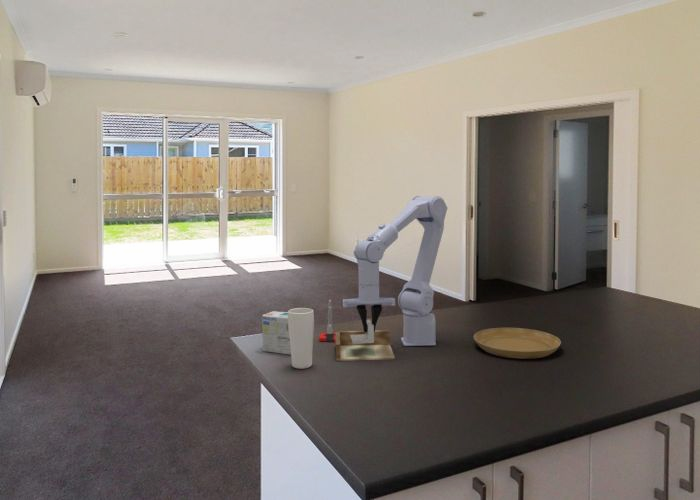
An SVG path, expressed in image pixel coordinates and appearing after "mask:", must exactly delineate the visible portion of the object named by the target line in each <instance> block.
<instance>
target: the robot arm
mask: <svg viewBox="0 0 700 500" xmlns="http://www.w3.org/2000/svg"><path fill="white" fill-rule="evenodd" d="M447 212H448V206H447V204H446V202H445V199H444V198H443V197H442V196H439V195H437V196H436V195H435V196H420V195H416V196H414V197H412V198H411V200H409V201H408V202H407V205H406V207H404V208H403V209H402V210H401V212H399V213H398V215H397V216H395V218H394V219H393V220H392V221H391V222H390V223H382V224H380V225H378V228H377V229H376V230H375V231H374V232H373V233H372V234H369V235H368V236H367V238H366V240H361V241H359V242H358V243H357V244H356V246H355V248H354V249H355V250H353V256H354V257H355V259H356V261H357V263H356V264H357V265H358V266H357V267H358V297H356V298H347V299H346V298H345V299H344V298H343V299H342V307H343V308H350V307H351V308H353V307H355V308H356V310H357V313H358V314H359V317H360V320H361V323H362V326H363V327H362V329H363V330H362V331H364V332H367V321H366V320H368V318H367V316H368V314H367V313H368V310H367V307H370V309H371V310H370V311H371V312H370V313H371V322H372V323H373V325H374V332H375V330H376V326H377V323H378V320H379V317H380V315H381V313H382V312H383V307H382V306H391V307H395V306H396V299H395V298H394V297H380V261H381V260H382V259H383V257H384V254H385V252H386V251H387V249H388V248H389V247H390V246H391V245H393V243H395V241H397V240H398V238H399V233H400V232H401V231H402V230H403V229H404V228H406V227H407V226H408V225H410V223H412V222H413V221H415V220H417V222H418V223H419V224H420V225H421V226H422V227H423V229H424V232H423V233H422V234H423V235H422V238H421V242H420V245H419V249H418V253H417V257H416V260H415V263H414V264H415V265H414V268H413V272H412V275H411V279H409V281H407V282H406V283H404V285H403V287H402V290H401V291H400V293H399V294H398V297H397V304H398V306H399V308H400V309H401V312H402V313H403V314H402V317H403V318H402V319H403V320H402V321H403V322H402V323H403V332H402V333H403V337H400V340H401V343H402V345H403V346H404V347H415V346H416V347H418V346H422V347H423V346H437V343H436V316H435V313H434V312H432V313H430V312H431V311H433V310H432V309H433V307H434V295H435V291H434V289H433V288H432V286H431V285H430V282H431V279H432V274H433V271H434V267H435V263H436V259H437V256H438V253H439V252H438V251H439V248H440V244H441V241H442V237H443V232H444V229H445V219H446V215H447Z"/></svg>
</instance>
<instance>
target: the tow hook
mask: <svg viewBox="0 0 700 500" xmlns="http://www.w3.org/2000/svg"><path fill="white" fill-rule="evenodd" d="M333 327H334V326H333V306H332V299H328V307H327V327H326V332H323V333H320V334H318V341H319V342H326V343H336V336H334V335H336V332H335V331H333V329H334V328H333Z"/></svg>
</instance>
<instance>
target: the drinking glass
mask: <svg viewBox="0 0 700 500" xmlns="http://www.w3.org/2000/svg"><path fill="white" fill-rule="evenodd" d="M287 312H288V329H289V338H290V347H291V355H290V356H291V365H292V367H293V368H295V369H299V370H301V369H302V370H303V369H308V368H310V367H312V365H313V347H314V346H313V345H314V332H315V314H314V309H312V308H309V307H308V308H307V307H298V308H297V307H296V308H291V309H289V310H288V311H287Z"/></svg>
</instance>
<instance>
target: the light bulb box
mask: <svg viewBox="0 0 700 500" xmlns="http://www.w3.org/2000/svg"><path fill="white" fill-rule="evenodd" d="M261 324H262V326H261V327H262V329H261V330H262V352H270V353H274V354H275V353H276V354H283V355H290V356H291V347H290V338H289V329H288V311H287V312H285V311H276V310H273V311H270V312H267V313H265V314H262V315H261Z"/></svg>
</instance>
